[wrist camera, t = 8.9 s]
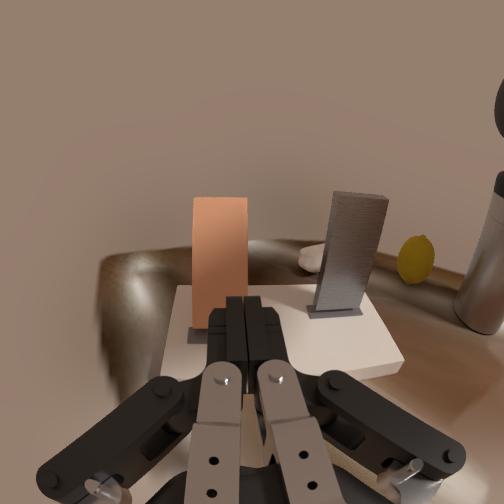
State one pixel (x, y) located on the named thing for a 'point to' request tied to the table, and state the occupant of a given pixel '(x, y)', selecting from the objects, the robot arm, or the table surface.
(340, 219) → the grey paddle
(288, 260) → the table surface
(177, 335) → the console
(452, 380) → the table surface
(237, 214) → the terracotta paddle
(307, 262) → the dumpling
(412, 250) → the lemon
